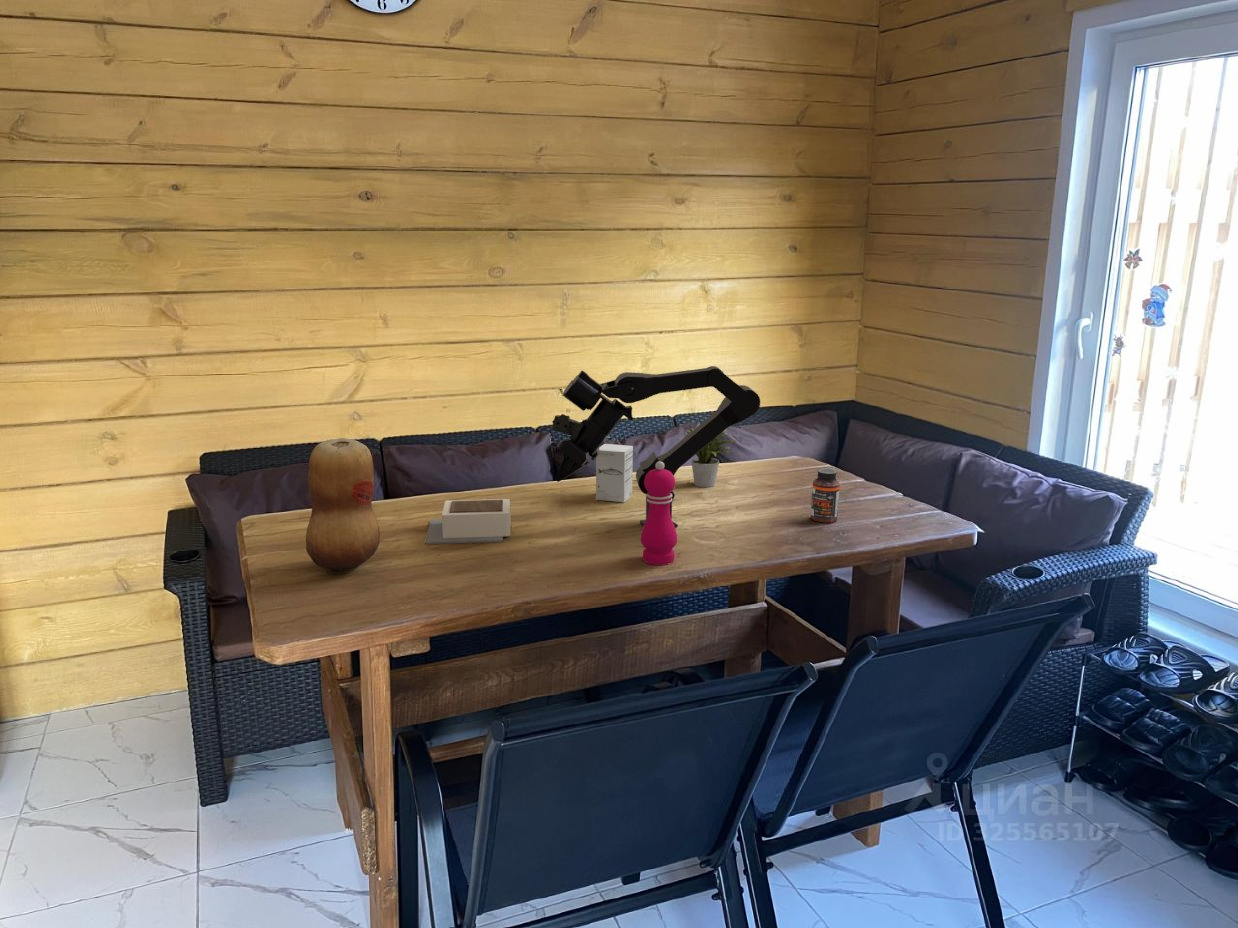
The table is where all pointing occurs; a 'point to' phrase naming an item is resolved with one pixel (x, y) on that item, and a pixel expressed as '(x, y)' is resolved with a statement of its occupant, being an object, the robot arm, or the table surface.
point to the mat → (437, 538)
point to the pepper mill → (659, 518)
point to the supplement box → (614, 473)
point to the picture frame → (476, 518)
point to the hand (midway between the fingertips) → (556, 480)
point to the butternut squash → (341, 505)
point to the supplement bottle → (825, 497)
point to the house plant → (707, 463)
